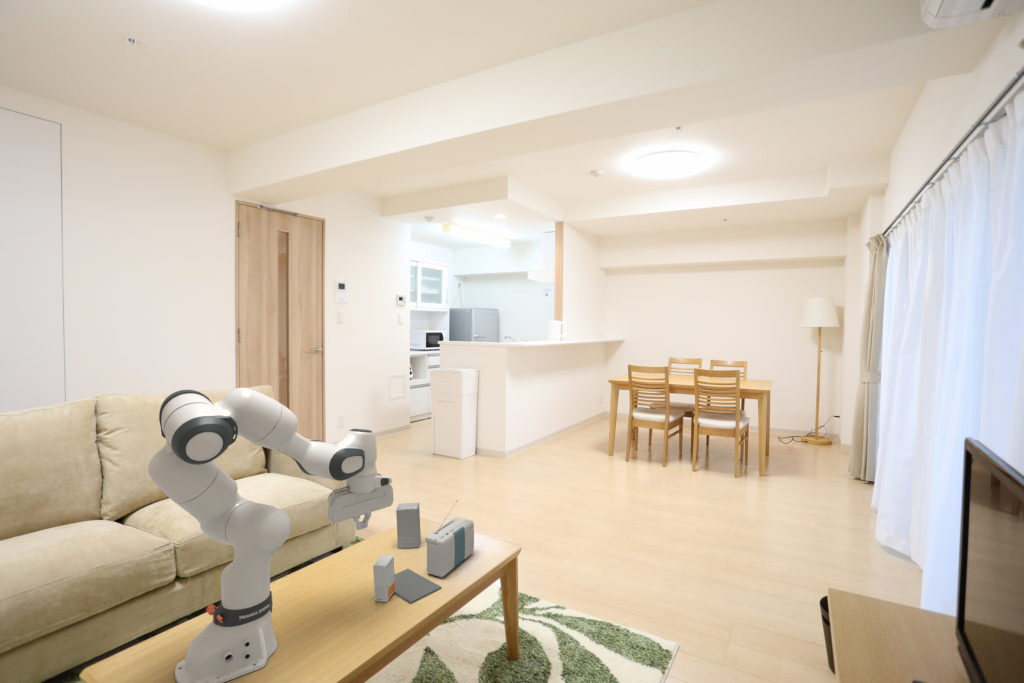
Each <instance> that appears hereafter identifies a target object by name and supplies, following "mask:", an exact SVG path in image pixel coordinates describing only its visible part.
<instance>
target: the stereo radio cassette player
mask: <svg viewBox="0 0 1024 683" xmlns="http://www.w3.org/2000/svg"><path fill="white" fill-rule="evenodd" d="M457 502H458V500H456V501H455V503H454V504H453V506H452V507H451V508H450V510H449V511H448V513H447V514H446V516H444V518H443V520H442V522H441V524H440V525H439V526H438V527H437V529H435V530H433V531H432V532H430V533H429V534H427V535H425V538H424V541H425V543H426V572H427V574H429V575H432V576H436V577H438V578H441V579H442V578H444V577H445V576H446V575H447V574H448V573H450V572H451V571H452V570H453V569H455V568H456V567H457V566H458V565H460V564H461V563H462V562H463V561H465V559H467V558H469V556H471V555H472V554H473V553H474V549H475V526H474V525H475V524H474V520H471V519H467V518H463V517H454V518H452V519H451V520H449V521H447V522H446V523H445V521H446V520H447V518H448V516H449V515H450V514H451V511H452V510H453V508H454V507H455V506H456V503H457Z"/></svg>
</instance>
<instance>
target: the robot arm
mask: <svg viewBox="0 0 1024 683" xmlns="http://www.w3.org/2000/svg"><path fill="white" fill-rule="evenodd" d="M158 416H159V417H158V420H159V426H160V432H161V436H162V438H164V439H165V440H166V441H165V445H164V446H163V447H162V448H161V449H159V450H158V451H157V452H156V453H155V454H154V455H153V456H152V458H151V459H150V460H149V463H148V469H147V471H148V475H149V477H150V478H151V479H152V481H153V482H154V484H155V485H156V486H157V487H158V489H160V490H161V491H162V493H163V494H165V495H166V496H167V497H168V498H169V499H170V500H172V502H174V504H176V505H178V506H179V507H181V508H182V510H184V511H185V512H187V513H188V514H189V515H191V516H192V517H193V518H194V519H195V520H196V521H197V522H198V523H199V526H200V529H201V531H202V533H203V534H204V535H206V536H207V537H209V538H210V539H212V540H213V541H214V542H218V543H221V544H225V545H227V546H228V545H229V546H231V547H233V551H234V553H233V554H234V555H233V560H232V561H231V562H230V563H229V564H227V566H226V567H225V568H223V571H222V573H221V575H220V580H221V582H220V583H221V587H220V588H221V601H220V602H219V604H218V606H216V605H215V604H214V603H211V604H209V605H207V607H206V609H205V611H206V613H207V614H208V615H210V616H212V620H211V621H210V623H208V624H207V625H206V627H204V629H202V630H201V631H200V632H199V633H198V634H197V635H196V636H195V637H194V638H193V639H192V640H191V642H190V643H189V645H188V647H187V652H186V656H185V658H184V659H182V660H180V661H179V662H178V663H177V665H176V667H175V670H174V678H175V681H176V683H225V682H228V681H231V680H234V679H236V678H238V677H241V676H242V677H243V676H244V675H247V674H250V673H252V672H255V671H258V670H261V669H263V668H265V666H266V664H267V663H268V660H269V658H270V657H271V656H272V655H273V654H274V653H275V651H276V649H277V648H278V644H279V643H278V639H277V636H276V633H275V629H274V626H273V624H274V623H273V618H272V612H273V606H274V605H273V603H274V602H273V594H272V590H271V566H272V560H273V557H274V554H275V552H276V551H277V550H278V549H279V548H280V547H282V546H283V544H285V542H286V541H287V539H288V537H289V535H290V531H291V518H290V517H289V515H288V514H287V513H286V512H285V511H283V510H281V509H279V508H277V507H275V506H273V505H269V504H265V503H259V502H256V501H252V500H249V499H247V498H245V497H243V496H242V495H241V494H239V492H238V489H239V488H238V484H237V482H236V480H234V479H233V478H232V477H231V476H230V474H228V473H227V472H225V471H224V470H223V469H222V468H221V467H220V466H219V465H218V464H217V463H216V462H214V460H216V459H218V458H219V457H221V455H222V454H224V453H225V452H226V451H227V450H228V448H229V447H230V446H231V445H233V444H234V443H235V442H236V441H237V438H238V436H239V437H240V438H241V437H242V438H243V439H246V440H247V441H249V442H251V443H252V444H255V445H257V446H260V447H263V448H266V449H269V450H274V451H280V452H281V453H282V454H284V455H287V456H288V457H290V459H292V460H294V462H295V463H296V464H297V466H298V468H299V469H300V471H301V472H302V473H304V474H305V475H309V476H313V477H314V476H315V477H320V478H324V479H328V480H332V481H337V482H344V481H345V486H343V487H339V488H335V489H333V490H332V491H331V492H330V493H329V494H328V499H327V500H328V506H327V519H328V520H329V521H330V522H332V523H333V524H338V523H340V522H344V521H347V520H351V519H352V520H353V522H354V523H355V529H356V530H357V531H361V530H363V529H366V528H368V526H369V524H368V523H369V521H370V519H371V517H372V513H373V512H377V511H380V510H382V509H386V508H389V507H391V506H392V505H393V503H394V488H393V486H392V482H393V480H392V477H390V476H388V475H385V474H382V473H378V470H377V466H376V462H377V459H378V458H377V457H378V455H377V454H378V453H377V450H378V449H377V439H376V434H375V433H374V432H373V431H372V430H370V429H363V428H351V429H348V430H347V434H346V435H345V436H344V437H343V438H342V439H341V440H339V441H338V442H336V443H330V442H325V441H323V440H319V439H307V438H306V437H305V436H303V435H301V434H300V433H299V432H297V431H298V428H299V420H298V416H296V414H295V413H294V412H292V410H291V409H289V408H288V407H287V406H286V405H284V404H282V403H281V402H279V401H277V400H276V399H274V398H272V397H270V396H269V395H266V394H264V393H262V392H259V391H257V390H254V389H251V388H248V387H237V388H234V389H233V390H231V391H229V392H228V393H227V394H226V395H225V396H224V397H223V398H222V399H220V400H219V401H217V402H213V403H212V401H211V399H210V398H209V397H208V396H207V395H205V394H204V393H202V392H200V391H198V390H193V389H181V390H178V391H175V392H173V393H171V394H170V395H168V396H167V397H165V399H164V400H163V402H162V403H161V405H160V409H159V414H158ZM361 516H364V517H363V519H362V520H361V521H360V519H361Z"/></svg>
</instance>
